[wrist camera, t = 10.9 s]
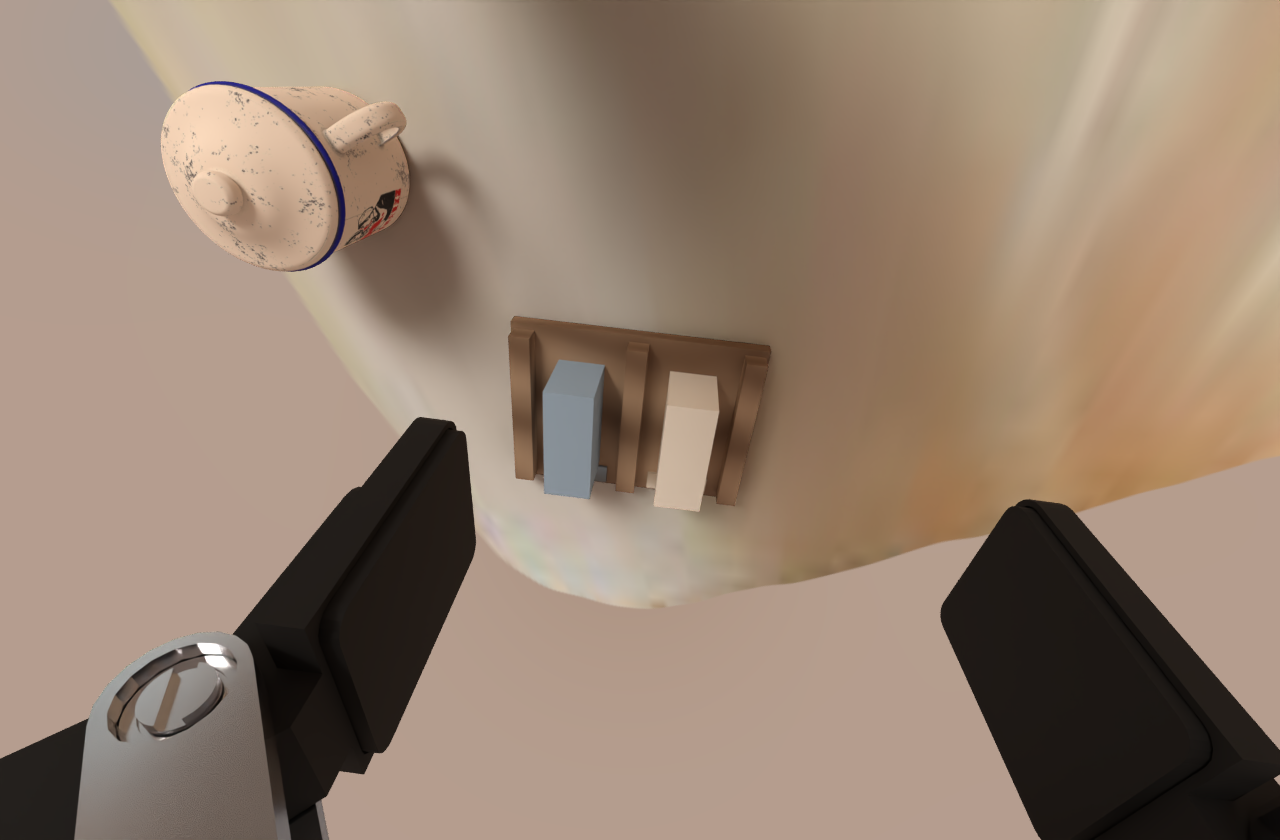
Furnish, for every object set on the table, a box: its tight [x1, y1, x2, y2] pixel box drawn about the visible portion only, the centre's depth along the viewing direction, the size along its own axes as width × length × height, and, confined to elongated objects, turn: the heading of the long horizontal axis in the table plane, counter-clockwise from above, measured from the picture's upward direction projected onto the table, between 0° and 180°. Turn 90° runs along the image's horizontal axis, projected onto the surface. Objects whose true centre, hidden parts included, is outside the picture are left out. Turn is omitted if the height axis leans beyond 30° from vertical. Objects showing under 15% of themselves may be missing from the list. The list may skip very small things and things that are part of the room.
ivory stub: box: [654, 371, 719, 512], centre depth 40 cm, size 9×4×5 cm, turn 175°
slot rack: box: [508, 316, 771, 506], centre depth 42 cm, size 14×19×2 cm
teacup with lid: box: [161, 81, 410, 272], centre depth 29 cm, size 12×9×12 cm
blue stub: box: [543, 360, 605, 499], centre depth 40 cm, size 9×4×5 cm, turn 175°
